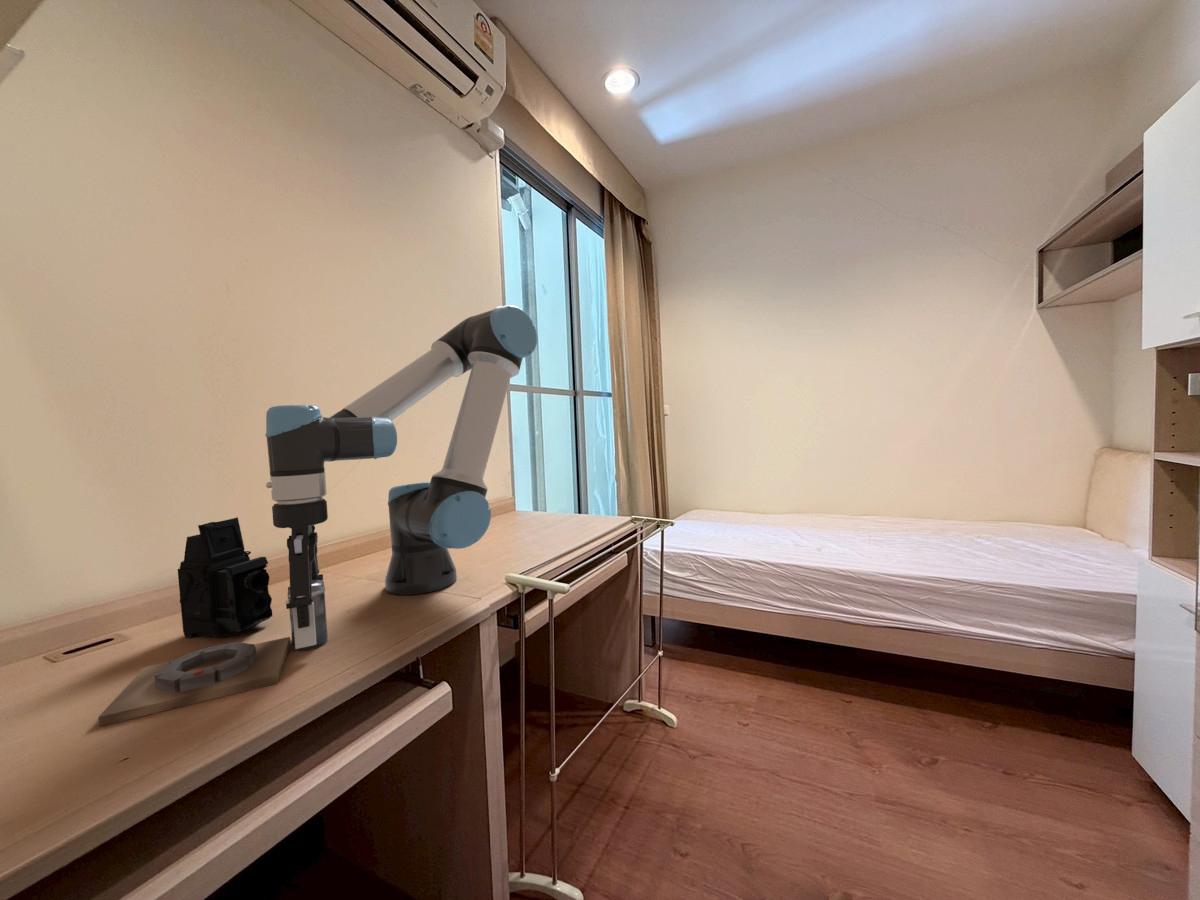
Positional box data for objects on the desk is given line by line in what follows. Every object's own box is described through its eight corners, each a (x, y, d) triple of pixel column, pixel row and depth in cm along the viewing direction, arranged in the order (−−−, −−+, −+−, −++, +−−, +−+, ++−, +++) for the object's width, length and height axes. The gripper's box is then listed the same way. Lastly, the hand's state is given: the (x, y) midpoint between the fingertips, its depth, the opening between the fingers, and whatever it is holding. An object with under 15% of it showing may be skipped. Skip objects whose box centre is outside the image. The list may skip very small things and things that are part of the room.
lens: (329, 634, 80) (325, 577, 80) (327, 646, 75) (323, 586, 75) (291, 642, 78) (287, 583, 77) (287, 655, 73) (282, 592, 72)
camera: (237, 644, 78) (228, 526, 77) (173, 640, 80) (163, 526, 79) (289, 620, 87) (280, 514, 86) (230, 617, 90) (221, 515, 89)
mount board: (290, 643, 77) (289, 625, 77) (277, 683, 65) (275, 661, 64) (145, 674, 69) (143, 654, 68) (99, 726, 56) (96, 701, 56)
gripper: (282, 495, 84) (291, 613, 85) (258, 513, 63) (270, 669, 64) (330, 490, 87) (338, 605, 88) (321, 506, 67) (332, 655, 68)
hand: (309, 632), depth 76 cm, fingers open, 11 cm apart
